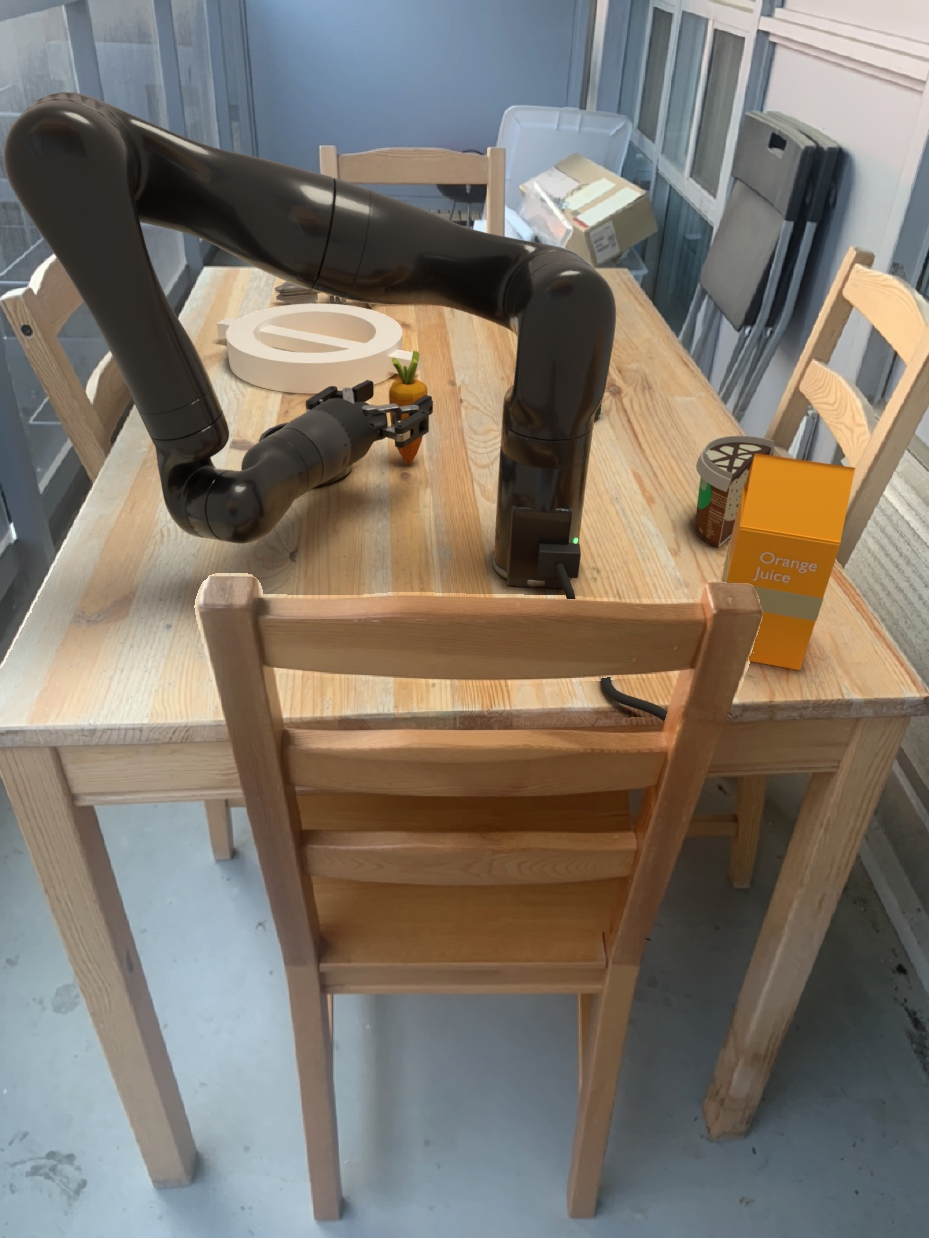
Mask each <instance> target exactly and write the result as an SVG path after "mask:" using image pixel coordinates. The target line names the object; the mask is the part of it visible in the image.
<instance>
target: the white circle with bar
mask: <svg viewBox="0 0 929 1238" xmlns="http://www.w3.org/2000/svg"><path fill="white" fill-rule="evenodd" d="M216 326H217V336H218V338H221V339H225V340H226V344H227V345H226V346H227V355H228V364H229V368H230V370H231V372H232V373H233V374H234V375H235V376H236V377H238V378H239V379H240V380H242V381H244V382H246V383H248V384H250V385H253V386H256V387H260V388H262V389H266V390H271V391H275V392H282V393H290V394H291V393H292V394H309V395H310V394H313V395H316V394H318V393H319V392H321V391H322V390H324V389H326V388H327V387H329V386H336V387H337V390H339V391H342V389H343V388H347V387H348V388H352V387H354V386H356V385H358V384H360V383H362V382H364V381H366V380H370V381H373V384H374V385H377V384H380V383H382V382H384V381H387V380H389V379H390V378H391V377H393V376H394V375H396V374H398V372H397V370H396V368H395V367H394V365H393V361H392V358H394V357H395V358H396V359H397V360H398V361H399V363H400V364H401V366H402V369H403V366H404V365H405V366H407V370H408V368H409V365H410V363H411V361H412V355H413V351H407V350H403V347H404V346H403V328H402V326H401V325H400V324H399V322H397V320H395V319H394V318H392V317H390V316H388V315H387V314H384V313H382V312H379V311H376V310H373V309H369V308H364V307H361V306H355V305H348V304H340V303H339V304H336V303H334V304H330V303H313V304H286V305H280V306H279V305H278V306H274V307H269V308H264V309H259V310H257V311H253V312H250V313H248V314H246V315H243V316H241V317H239V318H235V317H229V316H228V317H226V318H224V319H222V320H220V321H218V322H216ZM420 370H421V353H420V354H419V360H418V365H417V369H416V373H417V372H418V371H420ZM403 372H404V369H403ZM398 375H399V374H398Z"/></svg>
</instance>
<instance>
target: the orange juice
mask: <svg viewBox="0 0 929 1238" xmlns="http://www.w3.org/2000/svg"><path fill="white" fill-rule="evenodd" d="M855 472H856V467H853V466H847V465H840V464H832V463H825V462H819V461H811V460H805V459H799V458H798V459H797V458H791V457H785V456H777V455H773V456H771V455H764V454H757V453H755V455H754V458H753V461H752V464H751V467H750V470H749V473H748V476H747V479H746V482H745V485H744V488H743V490H742V494H741V498H740V502H739V506H738V511H737V515H736V519H735V523H734V527H733V532H732V536H731V538H730V539H729V543H728V547H727V551H726V556H725V560H724V565H723V570H722V574H721V578H720V582H721V581H722V582H727V583H749V584H752V585H753V586H754V588H755V589H756V591H757V594H758V596H759V599H760V605H761V607H762V610H763V619H762V622H761V624H760V629H759V632H758V635H757V637H756V639H755V643H754V647H753V650H752V653H751V655H750V656H749V660H748V662H754V663H757V664H758V663H759V664H764V665H769V666H774V667H781V668H785V669H791V670H795V671H801V668H802V665H803V662H804V659H805V656H806V653H807V650H808V647H809V644H810V640H811V637H812V634H813V631H814V628H815V625H816V622H817V620H818V617H819V614H820V610H821V607H822V604H823V602H824V598H825V597H824V596H825V594H826V590H827V588H828V584H829V581H830V578H831V575H832V572H833V568H834V566H835V563H836V559H837V556H838V553H839V550H840V547H841V544H842V536H843V531H844V527H845V522H846V516H847V512H848V506H849V500H850V496H851V492H852V485H853V481H854V476H855ZM753 652H754V653H753Z"/></svg>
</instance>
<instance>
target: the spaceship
mask: <svg viewBox="0 0 929 1238" xmlns="http://www.w3.org/2000/svg"><path fill="white" fill-rule="evenodd" d="M274 291H275V292H274V293H275V294H276V296H275V298H276V299H275V300H277V301H280V302H284V303H286V304H289V305H295V304H315V303H316V302H317V301H318V300H319V296H318V295H319V294H323V293H322V292H318V291H314V290H311V289H307V288H304V287H300V286H298V285H295V284H292V283H289V282H287V281H284V282H282V284H280V285H278V286H276V287H274ZM325 295H327V297H328V298H329V304H339V305H340V304H341V305H346V303H347V299H344V298H340V297H336V296H333V295H329V294H325ZM368 307H369V308H372V307H373V304H368Z"/></svg>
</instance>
